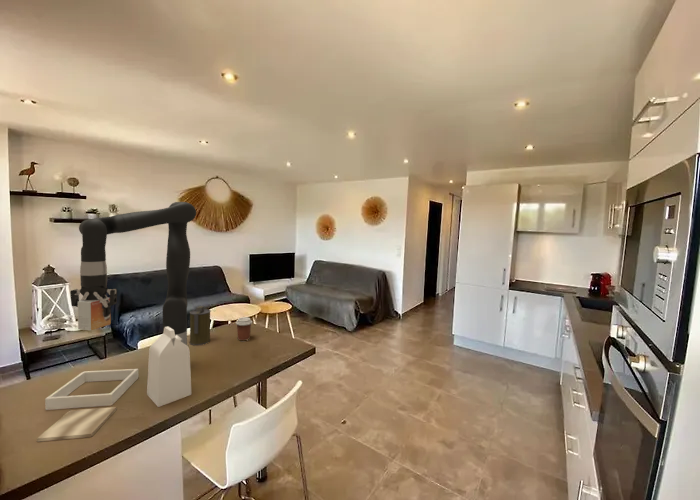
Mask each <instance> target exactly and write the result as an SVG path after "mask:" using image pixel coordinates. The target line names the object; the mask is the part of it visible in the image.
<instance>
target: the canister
mask: <svg viewBox="0 0 700 500" xmlns="http://www.w3.org/2000/svg"><path fill="white" fill-rule="evenodd" d="M208 342H209V343H210V342H211V309H210V308H209V309H208V308H205V306H204V305H198V306H196V307H195V309H193V310H191V311H189V344H190V345H192V346H203V344H204V345H207V344H208ZM206 343H207V344H206Z"/></svg>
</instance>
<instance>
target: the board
mask: <svg viewBox="0 0 700 500" xmlns="http://www.w3.org/2000/svg"><path fill="white" fill-rule="evenodd" d="M117 409H118V408H117V406H112V407H110V406H109V407H98V408H95V407H94V408H84V409H82V408H81V409H70V410H68V411H67V412H66V413H65V414H63V416H61V417H60V418H59V419H58V420H56V422H54V423H53V424H52V425H51V426H49V428H47V429H46V430H45V431H44V432H42V433H41V434H40V435H39V436H38V437H37V438H36V442H38V443H39V442H49V441H59V440H60V441H61V440H72V439H83V438H92V437H93V436H94V435H95V434H96V433H97V432H98V430H100V428H101V427H102V426H103V425H104V424H105V423H106V422H107V421H108V420H109V418H110V417H111V416H112V415H114V413H115V412H116V411H117Z"/></svg>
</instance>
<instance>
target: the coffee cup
mask: <svg viewBox="0 0 700 500" xmlns="http://www.w3.org/2000/svg"><path fill="white" fill-rule="evenodd" d="M252 324H253V320H251V318H250V317H249V316H248V317H247V316H246V317H244V316H243V317H238V319H237V320H236V321H235V325H236V330H237V331H236V332H237V340H238V339H239V340H247V339H249V338H250V337H251V336H250V335H251V329H252ZM249 340H250V339H249ZM247 341H248V340H247Z"/></svg>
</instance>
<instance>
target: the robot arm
mask: <svg viewBox="0 0 700 500" xmlns="http://www.w3.org/2000/svg"><path fill="white" fill-rule="evenodd" d="M196 215H197V210H196V208H195V206H194V205H193V204H192V203H189V202H187V201H175V202H172V203H171V204H170V205H169V206H168V207H164V208H159V209H152V210H143V211H132V212H126V213H120V214H116V215H111V216H104V217H95V218H88V219H85V220H83V221H81V223H79V226H78V231H79V232H80V234H81V236H82V238H81V239H82V246H81V248H80V267H79V268H80V269H79V273H80V274H79V275H80V286H81V287H80V289H78V288H74V289H72V290H70V293H69V294H70V303H71V305H70V306H71V307H75V308H76V307H77V308H78V301H85V300H99V301H100V303H102V304H103V305H104V317H108V316H109V315H110V314H111V315H112V313H111V312H112V310H111V307H112V306H115V305H117V303H118V301H117V300H118V289H117V288H113V289H111V288H110V289H109V288H108V286H107V285H108V267H107V257H106V255H107V253H106V244H107V239H108V238H107V237H108V235H112V234H122V233H128V232H133V231H138V230H142V229H146V228H150V227H154V226H155V227H156V226H161V225H167V226H168V235H167V246H166V247H167V248H166V258H165V259H166V261H165V265H166V266H165V267H166V269H165V270H166V277H167V293H166V298H165V300H164V303H163V305H162V311H161V312H162V329H163V333H164V327H170V328H172V329H173V330H174V332H175V336H176V335H177V336H179V337H180V338H182V340H181V342H182V343H184V344H185V345H187V346H188V348H189V345H188V321H187V320H188V315H187V314H188V298H187V297H188V295H187V294H188V292H187V282H188V277H189V273H190V266H191V264H190V263H191V249H190V244H189V240H188V235H187V230H188V228H187V227H188V223H190V222H192V221H193V220H194V219H195V218H196ZM80 294H81V295H82V298H80ZM107 294H108V295H109V297H108V296H107ZM108 298H110V301H109V300H108ZM163 333H162V334H163ZM189 349H190V348H189Z"/></svg>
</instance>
